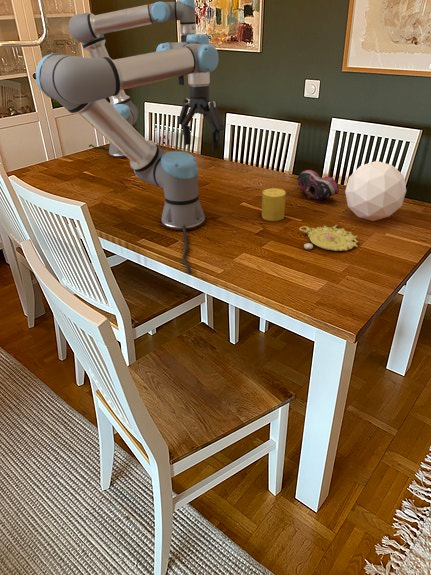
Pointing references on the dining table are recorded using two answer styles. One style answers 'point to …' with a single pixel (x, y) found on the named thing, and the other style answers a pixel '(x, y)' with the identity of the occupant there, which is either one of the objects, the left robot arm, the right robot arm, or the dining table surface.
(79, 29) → the left robot arm
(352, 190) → the sphere
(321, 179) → the athletic shoe
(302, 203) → the dining table surface
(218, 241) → the dining table surface
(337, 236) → the decorative object
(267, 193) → the can
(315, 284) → the dining table surface
